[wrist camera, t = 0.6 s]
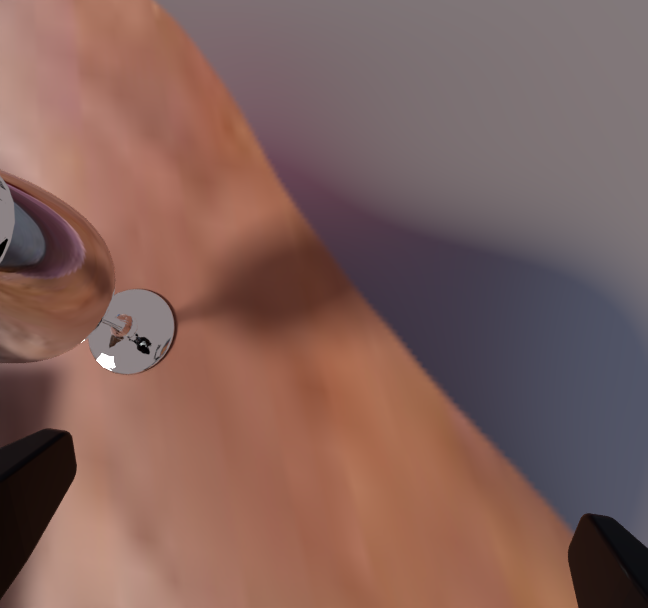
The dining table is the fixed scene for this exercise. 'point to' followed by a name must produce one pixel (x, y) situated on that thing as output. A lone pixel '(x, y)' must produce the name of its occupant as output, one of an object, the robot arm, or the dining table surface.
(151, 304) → the wineglass
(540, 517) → the dining table surface
